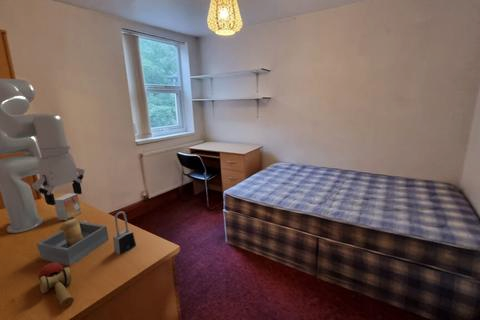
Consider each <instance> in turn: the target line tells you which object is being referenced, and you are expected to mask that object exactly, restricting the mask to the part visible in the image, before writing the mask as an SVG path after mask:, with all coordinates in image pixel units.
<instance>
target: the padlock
mask: <svg viewBox="0 0 480 320" xmlns="http://www.w3.org/2000/svg"><path fill="white" fill-rule="evenodd" d="M120 214H122V215H123V220H124V225H125V230H123V231H120V230H119V222H118V216H119V215H120ZM114 222H115V228H116V234H115V235H114V236H113V237H112V239H113V251H114V253H115V254H118V255H119V256H120V255H122V254H124V253H126V252H128V251H130V250H131V249H133V248H134V247H136V246H137V243H136V238H135V235H134V232H133V231H131V230H129V225H128V219H127V215H126V213H125V211H118V212H117V213H115V215H114Z"/></svg>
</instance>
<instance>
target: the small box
mask: <svg viewBox="0 0 480 320" xmlns="http://www.w3.org/2000/svg"><path fill="white" fill-rule="evenodd" d="M78 195H79V194H75V193H74V192H73V193H72V192H70V193H69V192H68V193H66V194H63V195H61V196H59V197H56V198H54V199H55V203H56V204H55V205H54V208H55V212H56V218H57V220H58V221H67V219H68V218H69V217H73V218H74V217H77V216H78V215H81V214H82V211H81V210H82V209H81V206H80V200H79V196H78ZM80 213H81V214H80Z"/></svg>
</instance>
